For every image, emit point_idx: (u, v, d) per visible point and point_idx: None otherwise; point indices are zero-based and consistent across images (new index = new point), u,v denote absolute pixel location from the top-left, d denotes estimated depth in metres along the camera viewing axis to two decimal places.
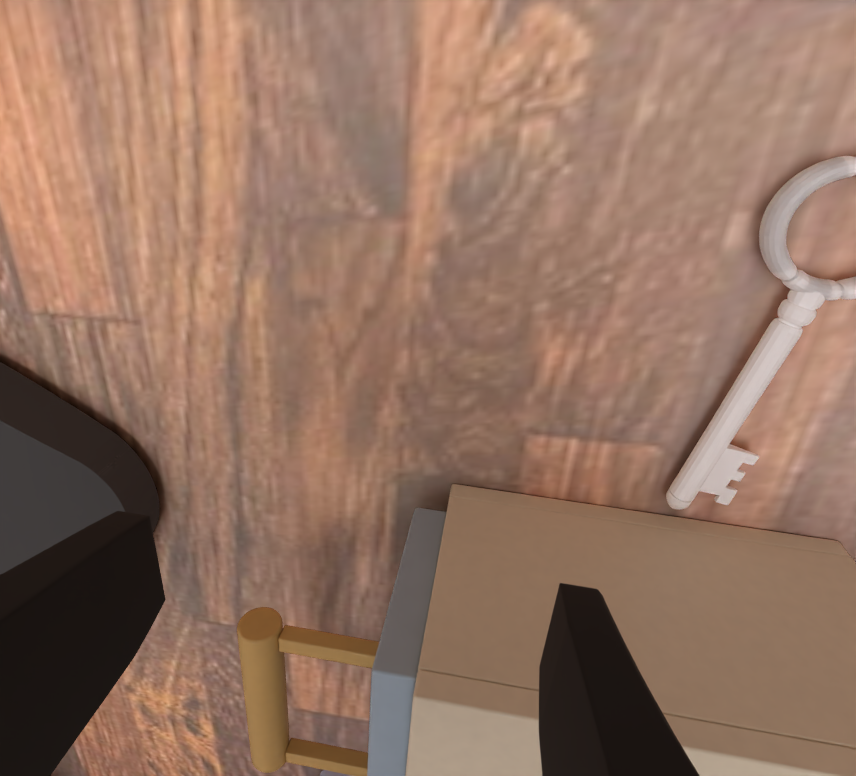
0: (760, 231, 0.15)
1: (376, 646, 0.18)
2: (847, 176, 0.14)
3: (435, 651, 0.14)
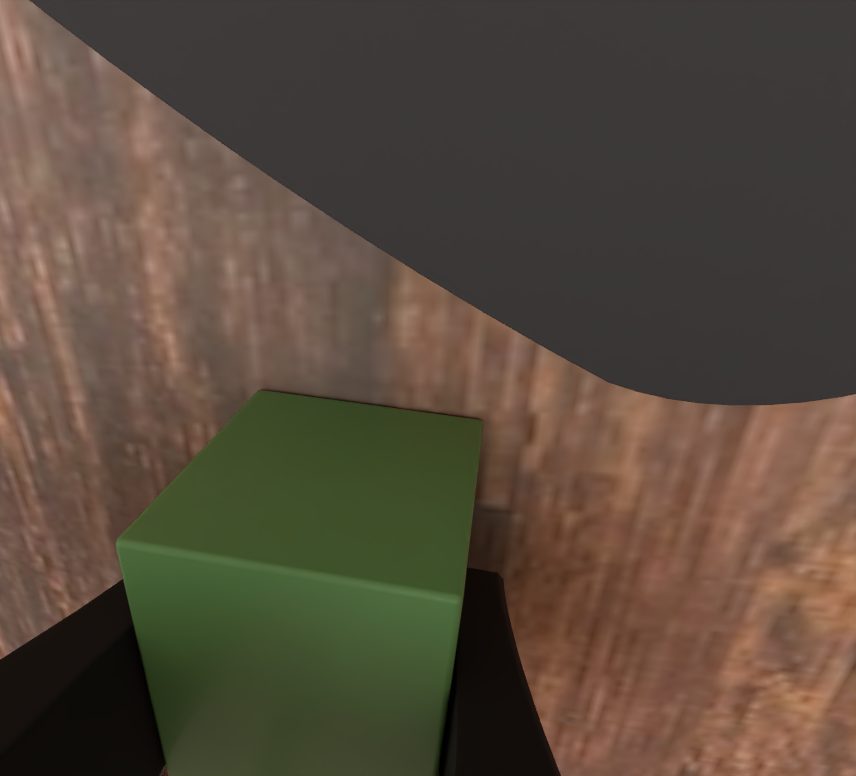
0: None
1: None
2: None
3: None
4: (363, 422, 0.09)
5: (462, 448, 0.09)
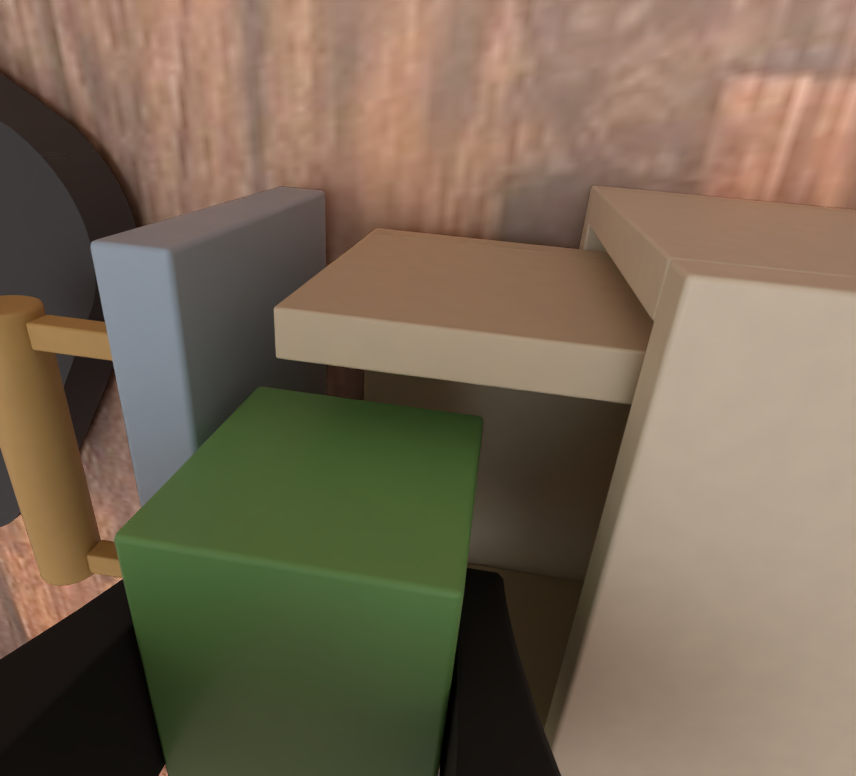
0: None
1: None
2: None
3: (689, 250, 0.07)
4: (364, 418, 0.09)
5: (462, 444, 0.09)
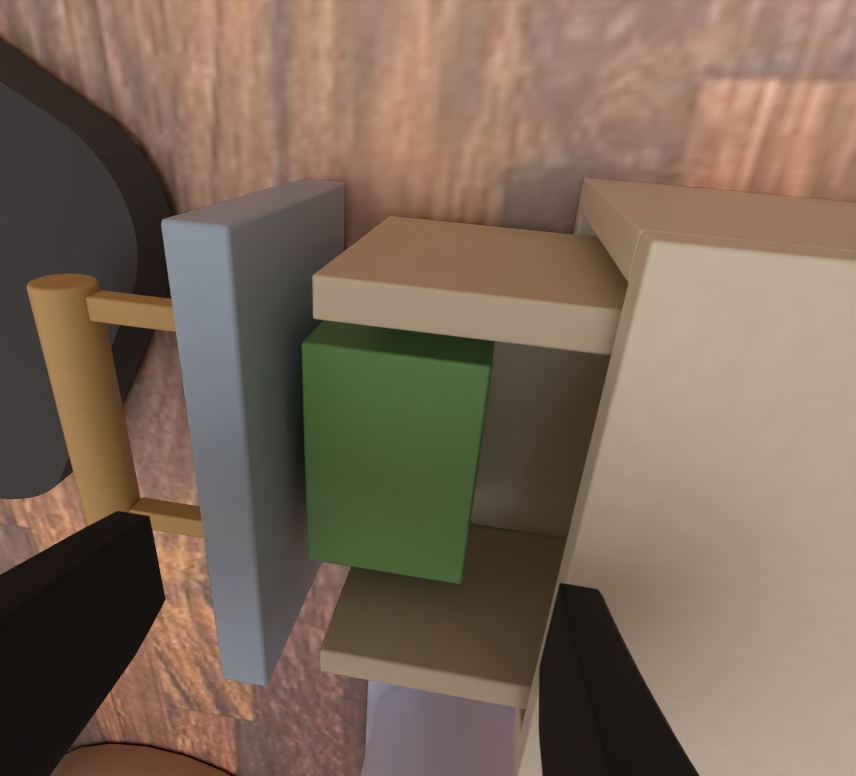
0: None
1: None
2: None
3: (657, 224, 0.08)
4: None
5: None
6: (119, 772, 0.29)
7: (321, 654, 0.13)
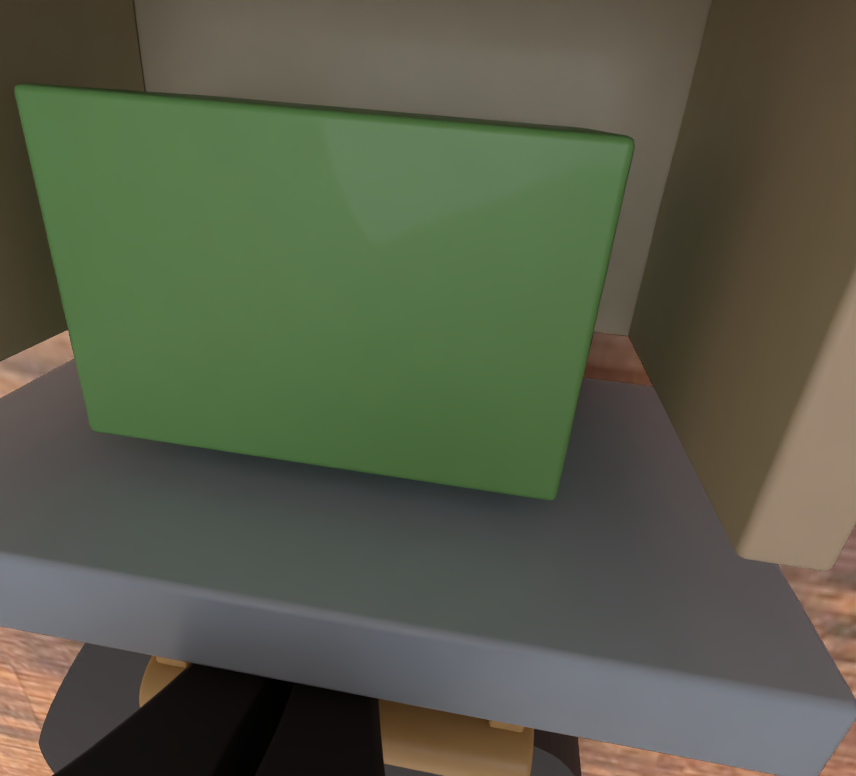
0: None
1: None
2: None
3: None
4: None
5: None
6: None
7: (754, 557, 0.05)
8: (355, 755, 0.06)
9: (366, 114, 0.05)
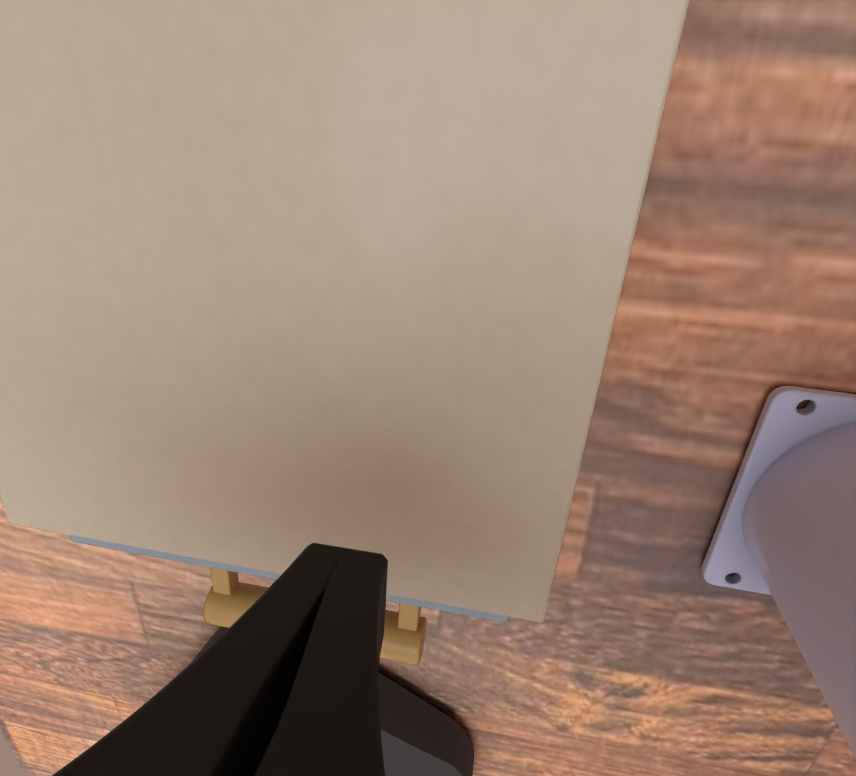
0: None
1: None
2: None
3: None
4: None
5: None
6: None
7: None
8: (355, 755, 0.06)
9: None
